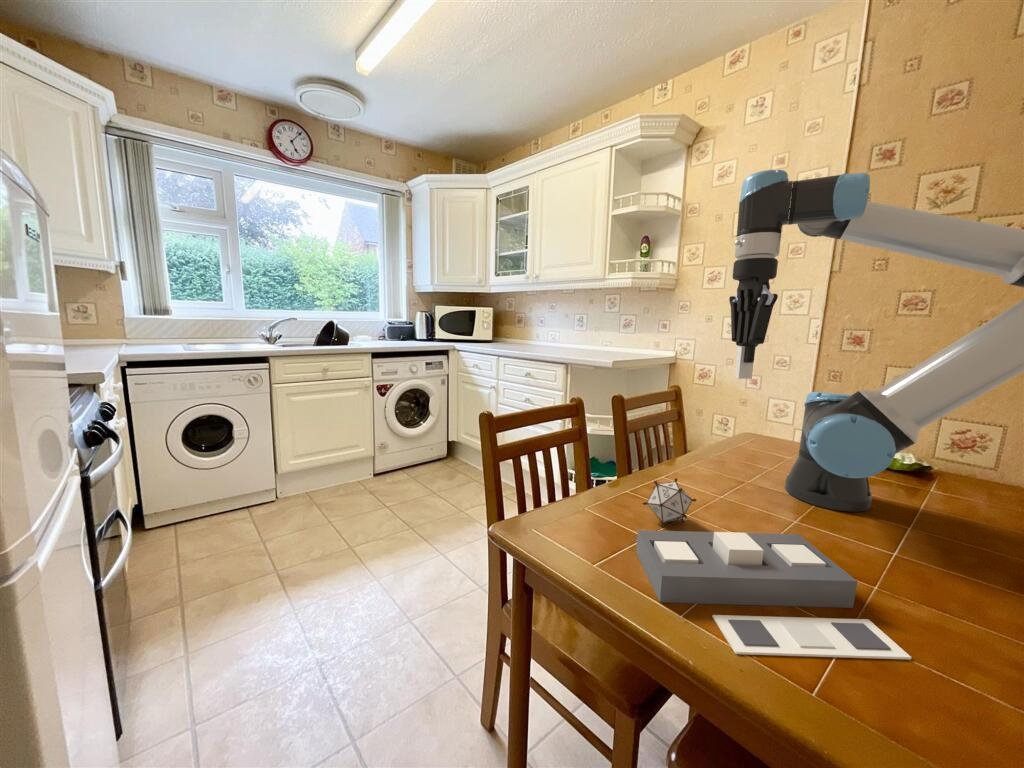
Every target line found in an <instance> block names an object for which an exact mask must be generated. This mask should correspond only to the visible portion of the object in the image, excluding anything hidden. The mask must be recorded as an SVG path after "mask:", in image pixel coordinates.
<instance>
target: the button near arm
mask: <svg viewBox="0 0 1024 768" xmlns="http://www.w3.org/2000/svg"><path fill="white" fill-rule="evenodd" d="M771 549H772V550H773V551H774V552H775V553H777V554H778V555H779V556H780V557H781V558H782V559H783V560H784V561H785V562H786V563H787V564H788V565H789V566H796V567H826V563H825V562H824V561H822V560H821V559H820V558H819V557H818V556H816V555H815V554H814V553H813V552H811V551H810V550H809V549H808V548H807V547H805V546H804V545H787V544H772V547H771Z"/></svg>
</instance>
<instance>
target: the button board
mask: <svg viewBox="0 0 1024 768" xmlns="http://www.w3.org/2000/svg"><path fill="white" fill-rule="evenodd" d="M714 532H715V531H689V530H688V531H685V530H684V531H683V530H682V531H681V530H678V531H677V530H676V531H675V530H648V529H647V530H645V529H644V530H642V529H641V530H639V529H638V530H637V534H636V547H635V553H636V556H637V558H638V560H639V562H640V564H641V566H642V568H643V570H644V573H645V574H646V576H647V578H648V581H649V582H650V585H651V587H652V589H653V591H654V593H655V595H656V597H657V599H658V602H659V603H661V604H662V603H665V604H667V603H668V604H670V603H671V604H696V605H697V604H701V605H702V604H703V605H704V604H705V605H706V604H707V605H738V606H739V605H741V606H770V607H771V606H774V607H775V606H776V607H805V608H807V607H811V608H841V609H842V608H843V609H845V608H846V609H853V608H854V603H855V598H856V592H857V586H858V580H856V579H855V578H854V577H853V576H851V574H849V573H848V572H847V571H845V569H843V568H841V567H840V566H839V565H838V564H836V563H835V562H834V561H833V560H832V559H830V558H829V557H828V556H826V555H825V554H824V553H823V552H821V551H820V550H819V549H818V548H817V547H815V546H814V545H813V544H811V543H810V542H809V541H808V540H806V539H805V538H804V537H803V536H801V535H800V534H798V533H795V534H794V533H765V532H760V533H759V532H745V533H746V534H747V535H748V536H749V537H751V538H752V539H753V540H754V541H755V542H756V543H757V544H758V545H759V546H760V547H761V548H762V549H763V550H764V551H763V559H762V566H758V565H726V564H725V563H724V562H723V560H722V559H721V558H720V557H719V556H718V554H717V553H716V552H715V551H714V549H713V548H712V547H713V538H714ZM654 541H670V542H686V543H687V545H688V546H689V547H690V549H691V550H692V551H693V553H694V554H695V556H696V557H697V558H698V560H699V562H698V564H682V563H662V562H661V560H660V558H659V557H658V555H657V553H656V551H655V550H654ZM772 544H787V545H804V546H805V547H807V548H808V549H809V550H810V551H811V552H813V553H814V554H815V555H816V556H818V557H819V558H820V559H821V560H822V561H824V562H825V563H826V567H796V566H789V565H788V564H787V563H786V562H785V561H784V560H783V559H782V558H781V557H780V556H779V555H778V554H777V553H775V552H774V551H773V550H772V549H771V547H772Z"/></svg>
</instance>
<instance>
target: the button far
mask: <svg viewBox="0 0 1024 768" xmlns="http://www.w3.org/2000/svg"><path fill="white" fill-rule="evenodd" d="M654 550H655V551H656V553H657V555H658V557H659V558H660V560H661V562H662V563H682V564H698V562H699V560H698V558H697V557H696V556H695V554H694V553H693V551H692V550H691V549H690V547H689V546H688V545H687V543H686V542H670V541H654Z"/></svg>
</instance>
